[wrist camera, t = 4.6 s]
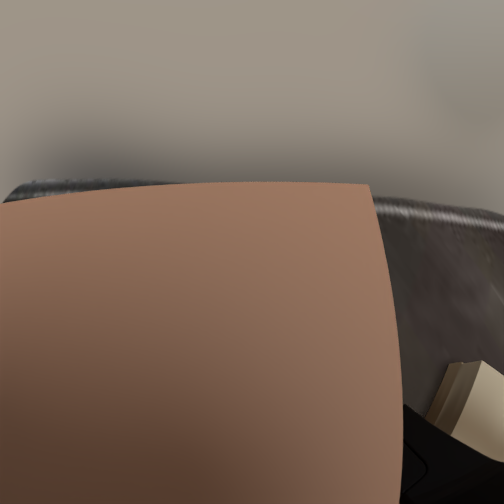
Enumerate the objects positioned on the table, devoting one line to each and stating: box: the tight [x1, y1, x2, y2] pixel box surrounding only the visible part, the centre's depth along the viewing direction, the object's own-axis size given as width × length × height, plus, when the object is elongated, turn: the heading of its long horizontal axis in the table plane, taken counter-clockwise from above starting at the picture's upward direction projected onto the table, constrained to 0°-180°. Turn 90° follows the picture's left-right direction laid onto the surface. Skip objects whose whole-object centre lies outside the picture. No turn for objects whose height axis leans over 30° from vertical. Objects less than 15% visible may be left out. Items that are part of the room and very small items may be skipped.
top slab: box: [434, 361, 504, 462], centre depth 10 cm, size 9×9×2 cm
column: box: [0, 182, 403, 504], centre depth 7 cm, size 5×5×12 cm
